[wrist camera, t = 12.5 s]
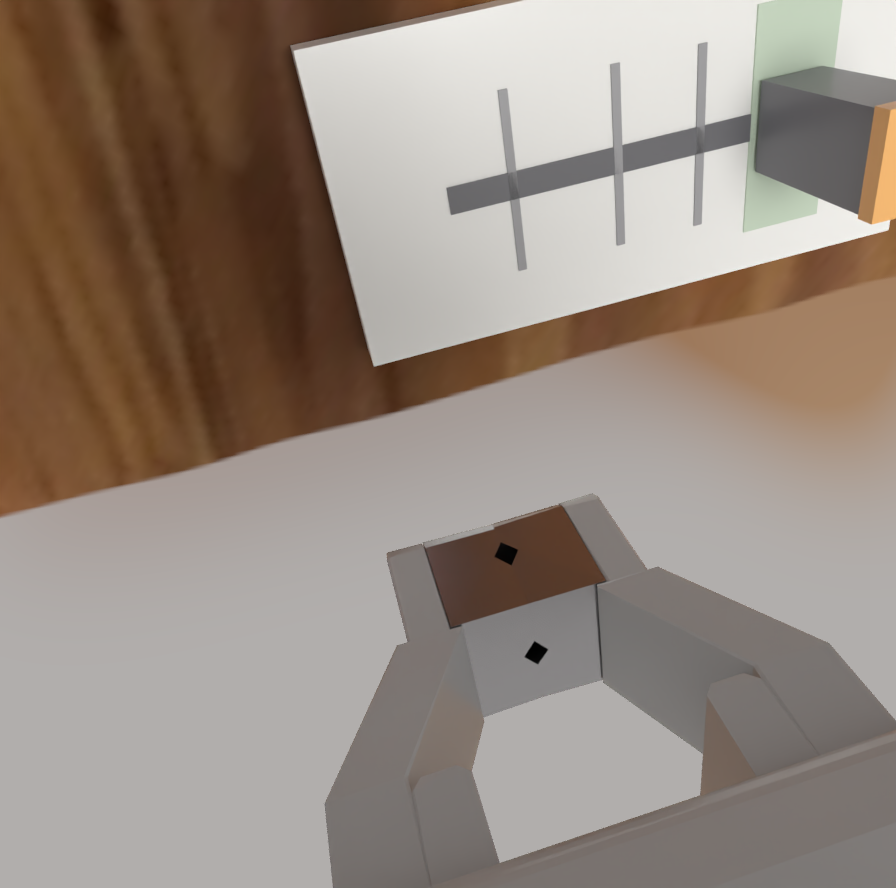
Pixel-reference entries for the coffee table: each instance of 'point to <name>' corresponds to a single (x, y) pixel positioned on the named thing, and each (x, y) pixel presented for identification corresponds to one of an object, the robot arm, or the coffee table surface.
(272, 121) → the coffee table surface
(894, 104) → the fader knob
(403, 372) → the coffee table surface
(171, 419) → the coffee table surface
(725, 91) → the console
